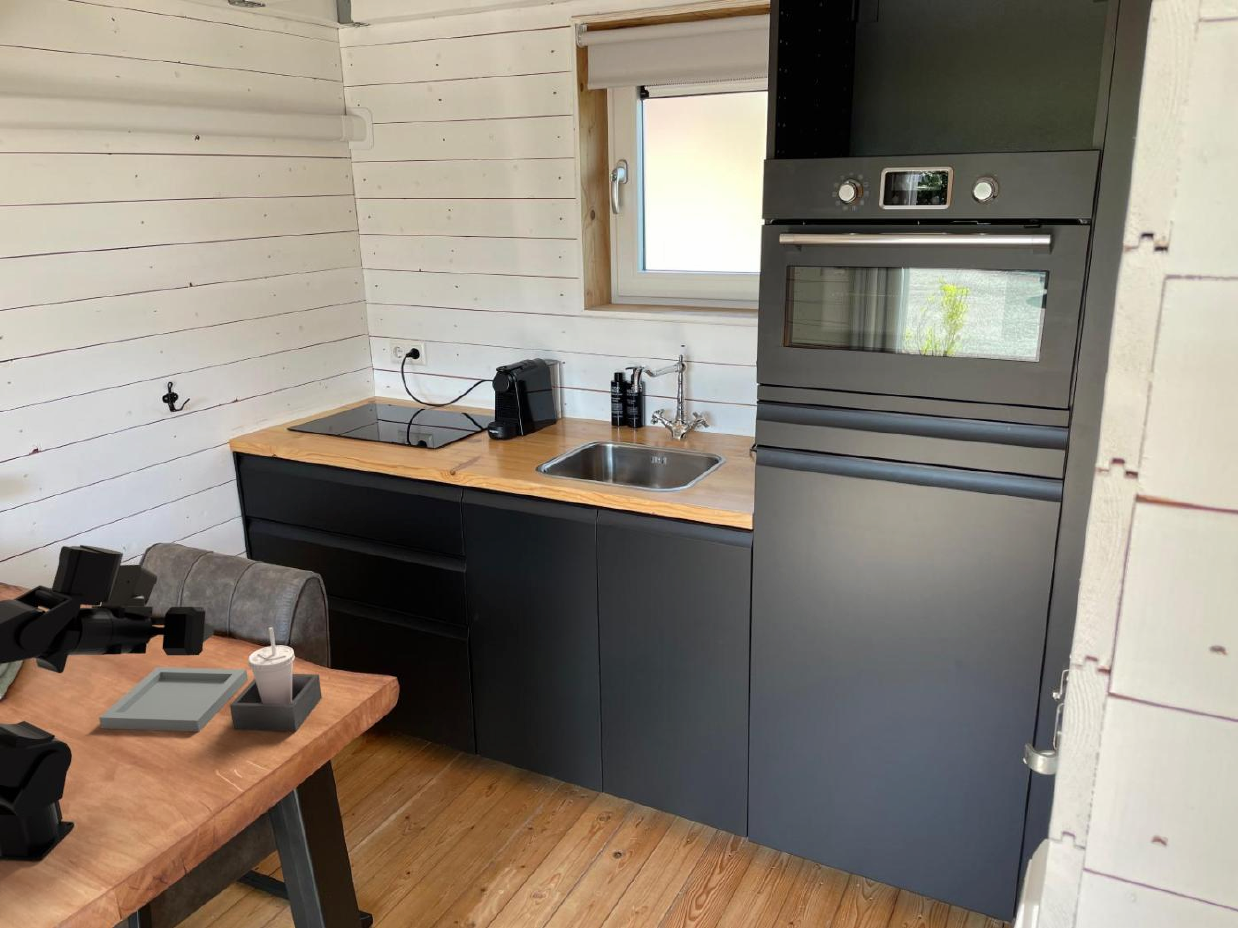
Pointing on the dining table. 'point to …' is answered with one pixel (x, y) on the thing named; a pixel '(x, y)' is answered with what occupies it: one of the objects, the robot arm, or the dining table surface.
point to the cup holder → (276, 706)
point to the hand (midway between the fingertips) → (185, 631)
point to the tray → (174, 699)
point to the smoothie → (273, 672)
